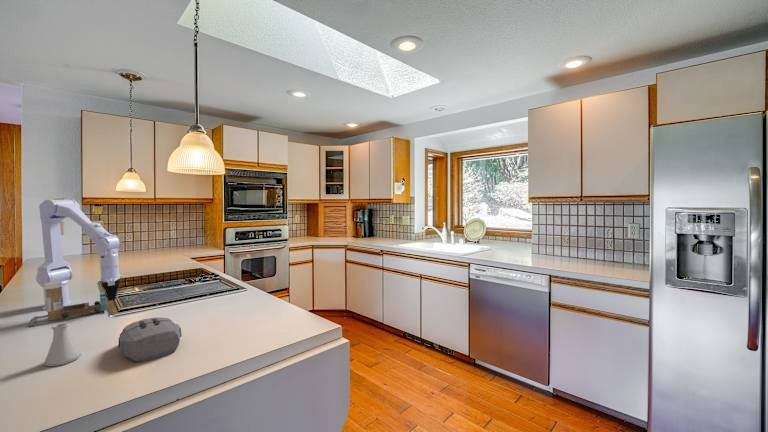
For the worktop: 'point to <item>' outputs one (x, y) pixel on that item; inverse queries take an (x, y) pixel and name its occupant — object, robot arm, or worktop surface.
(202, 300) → the worktop surface
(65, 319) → the dark grey flat frame
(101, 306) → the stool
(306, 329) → the worktop surface
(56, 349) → the flask
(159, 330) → the grey rounded bag
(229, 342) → the worktop surface
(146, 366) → the worktop surface
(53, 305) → the sprinkles bottle
